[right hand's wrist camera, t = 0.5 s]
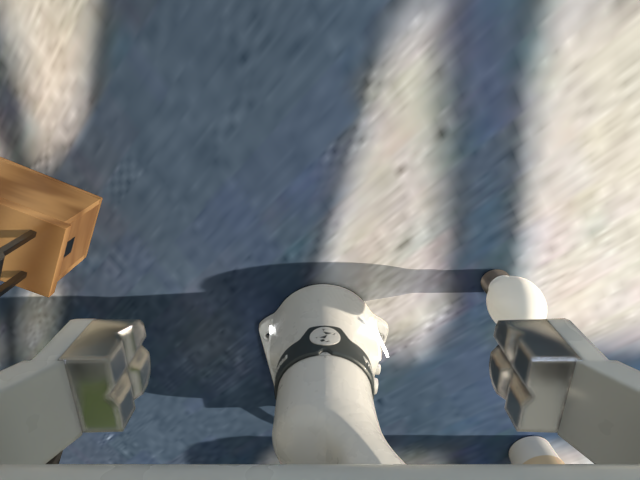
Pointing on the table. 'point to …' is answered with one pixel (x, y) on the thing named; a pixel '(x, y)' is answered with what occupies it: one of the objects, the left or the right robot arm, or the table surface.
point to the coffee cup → (533, 452)
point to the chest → (53, 206)
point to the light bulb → (512, 297)
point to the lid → (30, 249)
